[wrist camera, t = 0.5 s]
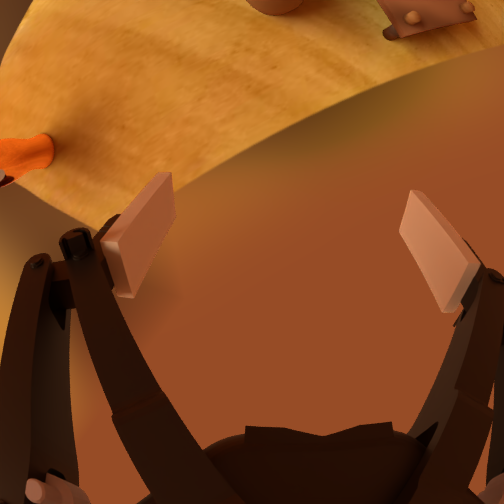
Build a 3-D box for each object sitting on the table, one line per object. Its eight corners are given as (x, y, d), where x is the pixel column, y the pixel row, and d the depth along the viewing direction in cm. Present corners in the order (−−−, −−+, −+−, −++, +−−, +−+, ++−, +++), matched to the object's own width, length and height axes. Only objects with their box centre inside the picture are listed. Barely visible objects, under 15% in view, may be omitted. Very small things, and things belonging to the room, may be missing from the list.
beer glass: (61, 138, 38) (-3, 153, 24) (50, 176, 40) (-10, 202, 27) (35, 126, 36) (-28, 138, 23) (25, 162, 39) (-34, 184, 25)
